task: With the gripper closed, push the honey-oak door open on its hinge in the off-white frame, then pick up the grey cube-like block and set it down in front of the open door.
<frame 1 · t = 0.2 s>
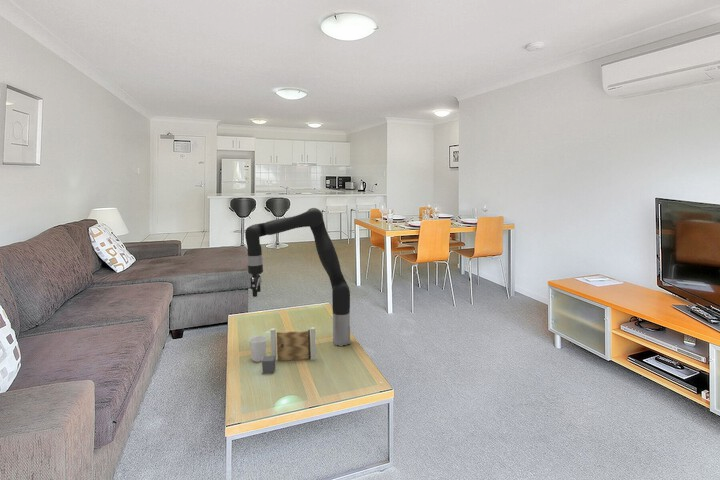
hand: (256, 294, 192), 28 cm above the table, fingers open, 8 cm apart
door: (293, 345, 179), point 8 cm above the table, hinge at 0.0°
door frame: (309, 359, 181), on the table
white cup: (259, 359, 182), on the table
grey cube-like block: (269, 370, 170), on the table
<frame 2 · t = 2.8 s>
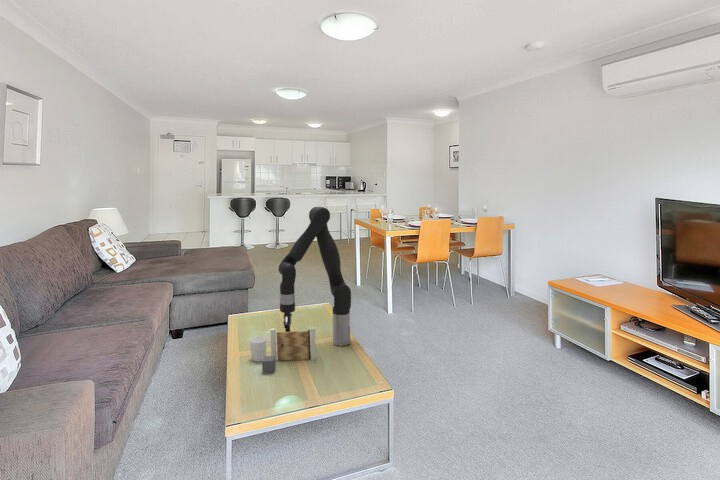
hand: (287, 334, 187), 10 cm above the table, fingers closed
nothing on the table moved.
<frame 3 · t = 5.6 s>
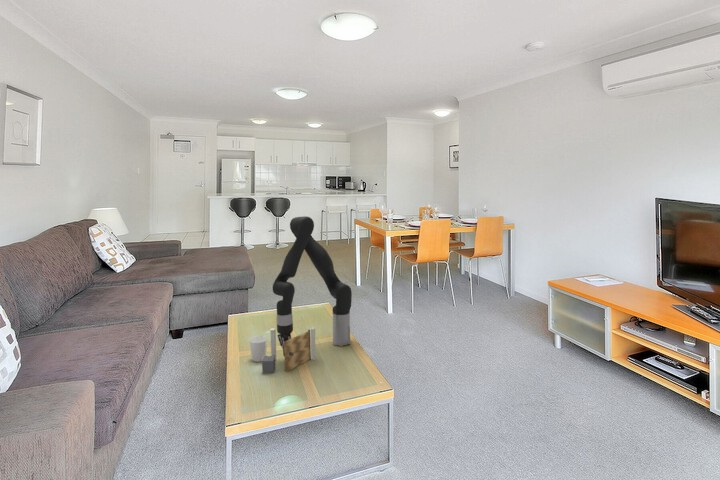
hand: (286, 356, 178), 3 cm above the table, fingers closed
door: (299, 350, 174), point 8 cm above the table, hinge at 49.2°, touching hand
everything else where it was.
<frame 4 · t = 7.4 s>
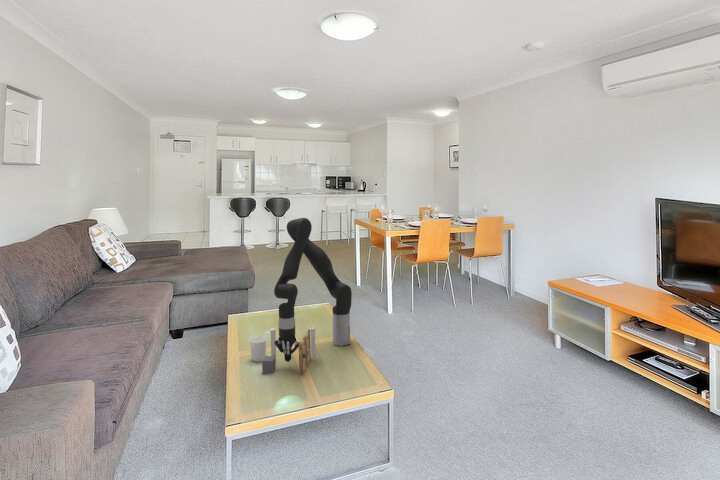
hand: (287, 360, 173), 3 cm above the table, fingers closed
door: (306, 351, 172), point 8 cm above the table, hinge at 78.5°
everything else where it was.
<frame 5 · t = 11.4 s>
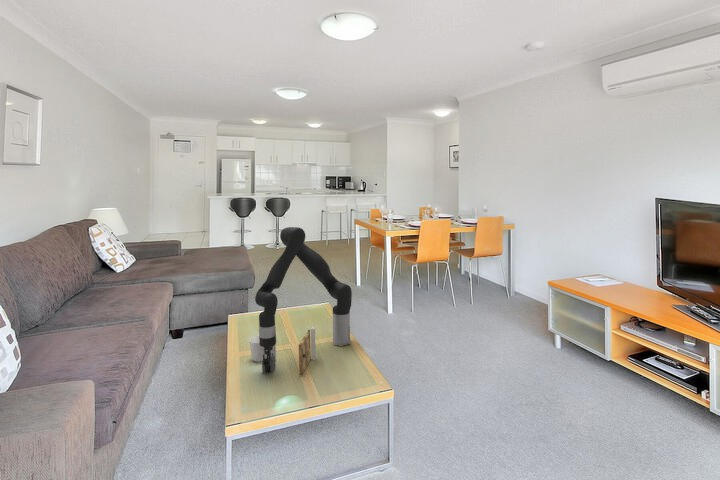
hand: (268, 369, 170), 1 cm above the table, fingers closed on grey cube-like block, 5 cm apart
grey cube-like block: (269, 370, 170), on the table, touching gripper
everything else where it was.
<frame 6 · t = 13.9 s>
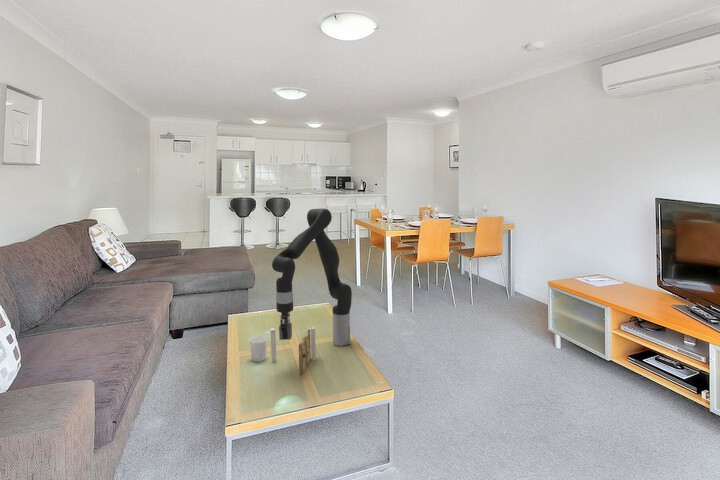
hand: (285, 335, 169), 16 cm above the table, fingers closed on grey cube-like block, 5 cm apart
grey cube-like block: (285, 337, 169), point 15 cm above the table, touching gripper
everything else where it was.
when the fingers open (2 cm above the table, at t = 16.8 s): grey cube-like block drops 1 cm, on the table.
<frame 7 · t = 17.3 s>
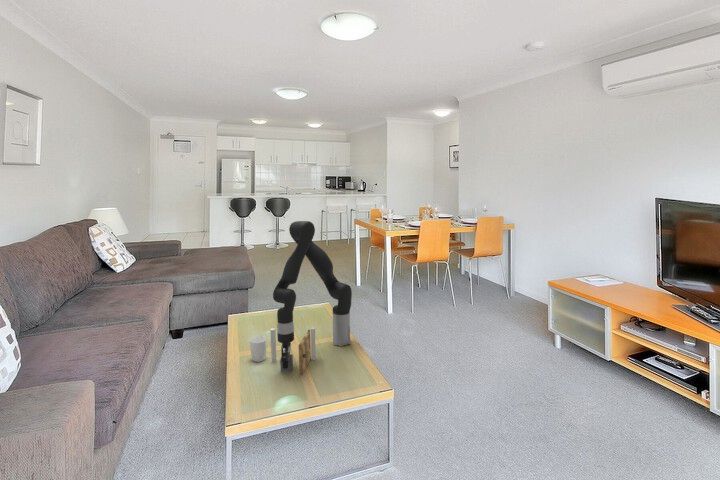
hand: (286, 363, 171), 3 cm above the table, fingers open, 8 cm apart
grey cube-like block: (286, 369, 171), on the table
everything else where it was.
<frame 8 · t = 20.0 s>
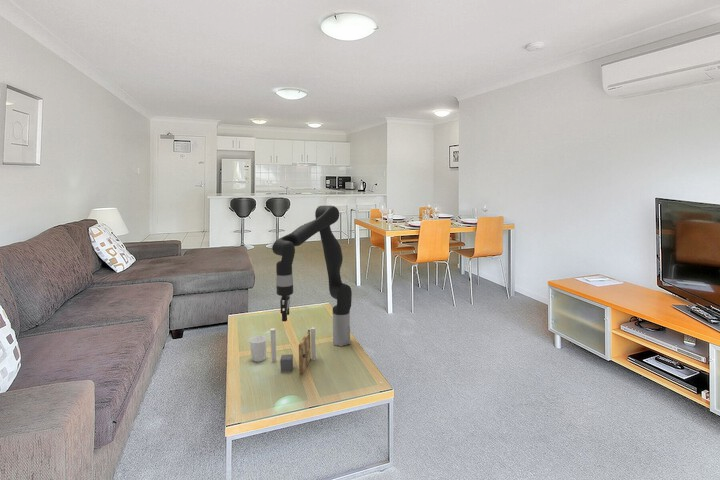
hand: (285, 317, 170), 24 cm above the table, fingers open, 8 cm apart
nothing on the table moved.
at the end: door at +78° (first picture: +0°); grey cube-like block inside the target area (0.0 cm from its centre), on the table; grey cube-like block tilted 0° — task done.
